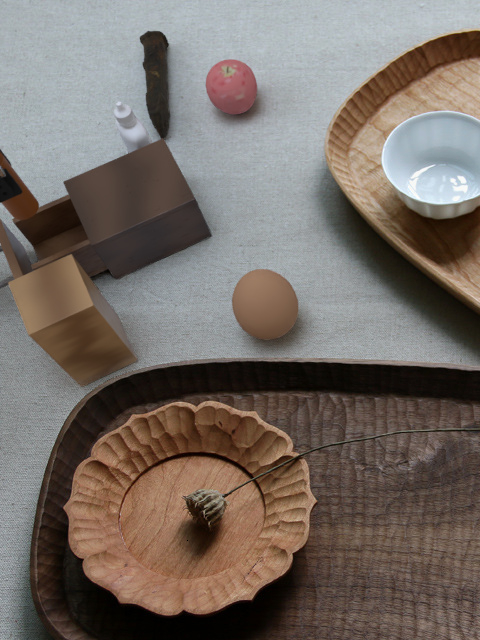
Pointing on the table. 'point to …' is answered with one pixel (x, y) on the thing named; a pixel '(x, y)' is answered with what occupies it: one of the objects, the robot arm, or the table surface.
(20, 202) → the amber bottle
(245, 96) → the apple
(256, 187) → the table surface
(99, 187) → the cabinet
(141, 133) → the eye dropper bottle
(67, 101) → the table surface
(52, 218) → the drawer
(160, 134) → the hand tool
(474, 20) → the table surface
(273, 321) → the egg
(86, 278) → the block
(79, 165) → the table surface
